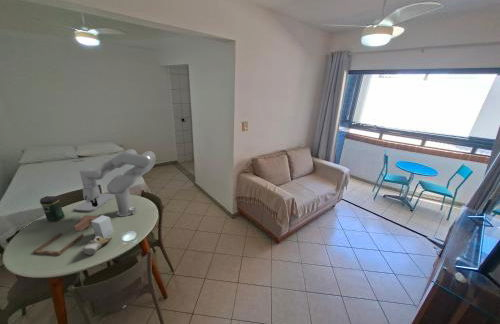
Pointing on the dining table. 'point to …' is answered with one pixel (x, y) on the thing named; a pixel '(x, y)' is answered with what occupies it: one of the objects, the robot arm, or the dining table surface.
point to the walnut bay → (39, 251)
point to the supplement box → (102, 226)
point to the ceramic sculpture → (95, 244)
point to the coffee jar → (52, 208)
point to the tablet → (101, 201)
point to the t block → (84, 222)
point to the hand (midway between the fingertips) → (95, 206)
